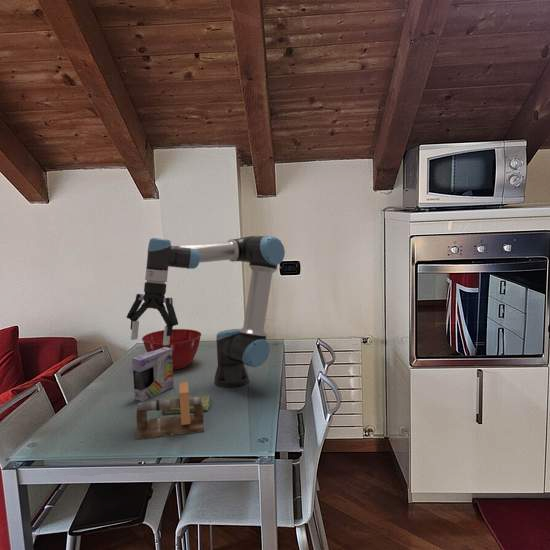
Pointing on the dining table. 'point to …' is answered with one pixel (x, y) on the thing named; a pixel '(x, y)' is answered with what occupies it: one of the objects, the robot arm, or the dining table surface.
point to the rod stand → (168, 418)
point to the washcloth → (204, 401)
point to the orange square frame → (184, 403)
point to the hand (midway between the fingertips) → (149, 342)
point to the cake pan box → (152, 373)
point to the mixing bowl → (175, 345)
